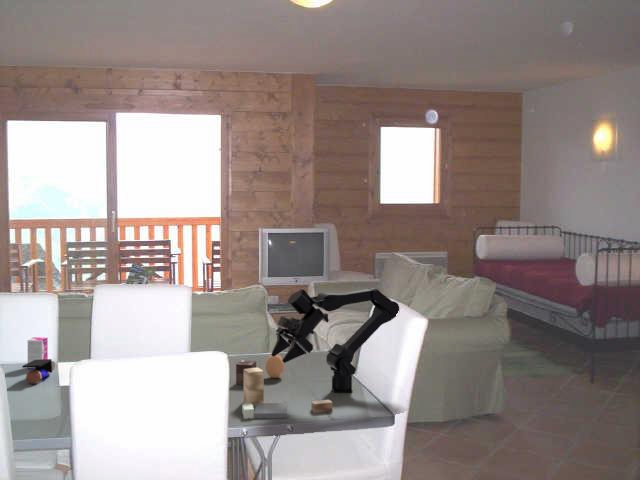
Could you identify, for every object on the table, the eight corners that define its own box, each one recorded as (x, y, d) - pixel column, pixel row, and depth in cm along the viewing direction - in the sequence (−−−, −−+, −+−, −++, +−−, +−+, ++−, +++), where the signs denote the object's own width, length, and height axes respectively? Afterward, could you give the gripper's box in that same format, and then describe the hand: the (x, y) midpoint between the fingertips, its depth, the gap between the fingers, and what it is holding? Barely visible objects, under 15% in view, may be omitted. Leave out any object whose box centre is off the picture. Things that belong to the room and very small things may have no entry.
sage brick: (242, 413, 219) (242, 403, 219) (251, 412, 219) (251, 403, 219) (244, 419, 213) (244, 409, 213) (254, 418, 214) (253, 409, 213)
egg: (287, 376, 260) (287, 353, 259) (277, 381, 254) (277, 357, 253) (271, 374, 263) (271, 350, 262) (261, 378, 257) (261, 354, 256)
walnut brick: (329, 408, 223) (329, 399, 223) (332, 411, 220) (332, 402, 220) (311, 410, 222) (311, 401, 221) (314, 413, 219) (314, 404, 218)
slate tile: (287, 407, 224) (287, 403, 223) (286, 418, 214) (286, 413, 213) (255, 407, 223) (255, 403, 223) (253, 418, 213) (253, 413, 213)
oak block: (257, 400, 232) (257, 367, 231) (263, 404, 227) (263, 370, 226) (243, 402, 229) (243, 369, 228) (249, 406, 225) (249, 372, 224)
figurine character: (37, 378, 262) (21, 385, 247) (37, 357, 262) (21, 363, 247) (55, 378, 262) (40, 385, 247) (56, 357, 262) (41, 363, 247)
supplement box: (42, 369, 268) (41, 340, 267) (27, 369, 268) (26, 340, 267) (48, 365, 274) (47, 337, 273) (33, 365, 274) (32, 336, 273)
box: (251, 385, 248) (251, 365, 248) (235, 384, 250) (235, 364, 249) (256, 380, 254) (256, 361, 254) (241, 379, 256) (240, 360, 255)
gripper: (281, 303, 241) (251, 337, 236) (304, 312, 224) (272, 349, 220) (301, 324, 245) (272, 358, 240) (326, 334, 228) (295, 371, 224)
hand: (277, 358), depth 231 cm, fingers open, 9 cm apart
